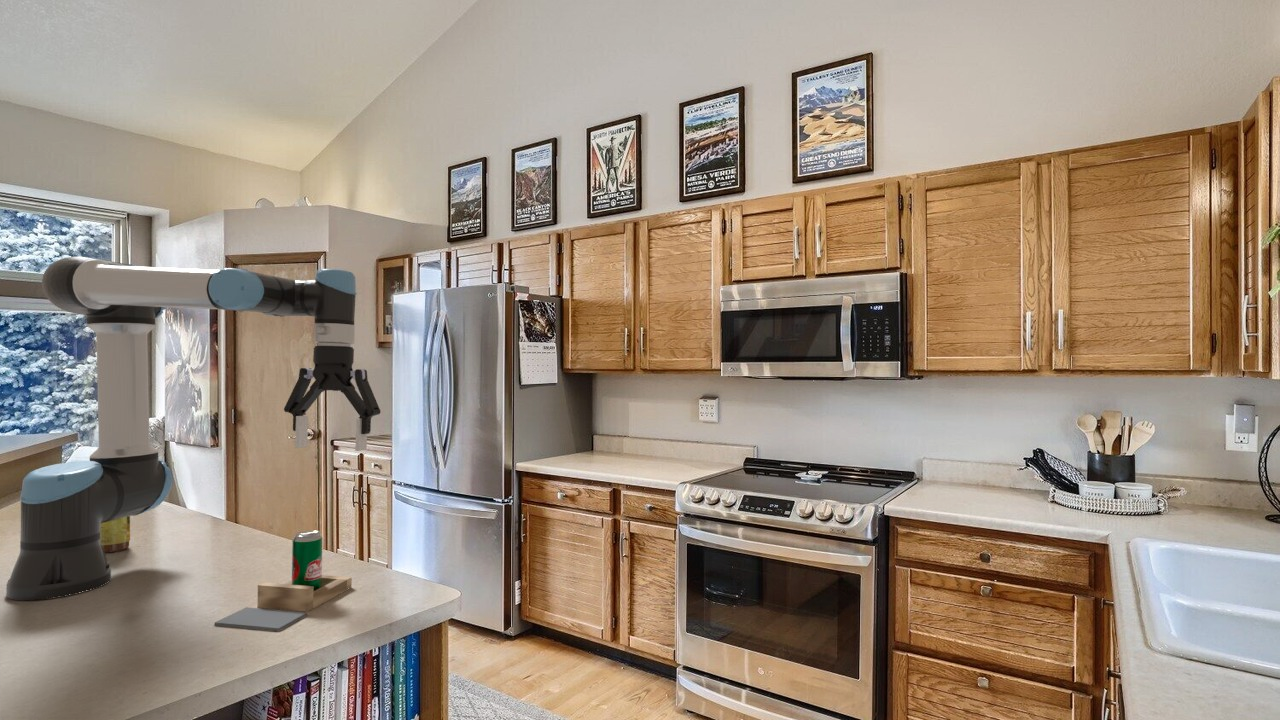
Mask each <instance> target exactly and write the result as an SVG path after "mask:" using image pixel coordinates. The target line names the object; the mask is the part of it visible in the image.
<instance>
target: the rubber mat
mask: <svg viewBox="0 0 1280 720" xmlns="http://www.w3.org/2000/svg"><path fill="white" fill-rule="evenodd" d="M307 616H308V612H304V611H292V610H281V609H269V608H257V607H248V606H246V607H243V608H242V609H239V610H238V611H236V612H233V613H231V614H229V615H227V616H225V617H222V618H221V619H219V620H217V621H215V622H214V626H217V627H228V628H229V627H230V628H240V629H248V630H249V629H250V630H260V631H268V632H269V631H273V632H280V631H281V630H284V629H286V628H288V627H290V626H291V625H293V624H295V623H296V622H298V621H300V620H301V619H304V618H305V617H307Z"/></svg>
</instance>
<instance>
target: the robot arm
mask: <svg viewBox="0 0 1280 720" xmlns="http://www.w3.org/2000/svg"><path fill="white" fill-rule="evenodd" d="M41 288H42V290H43V293H44V295H45V297H46V299H48V301H50V303H51V304H53V306H55V307H57V308H58V309H60V310H63V311H65V312H67V313H71V314H76V315H84V316H86V327H88V328H89V329H90V330H91V331H93V332H94V333H95V335H96V371H97V372H96V375H97V376H96V378H97V419H98V420H97V423H98V428H97V429H98V447H97V449H95V451H94V452H92V453H91V454H90V455H89V460H79V461H78V460H77V461H69V462H65V463H55V464H51V465H47V466H43V467H40V468H37V469H33V470H32V471H30V472H29V473H27V474H26V475H25V476H24V477H23V479H22V485H21V492H20V496H19V499H20V537H19V538H20V541H19V542H20V546H19V555H18V557H17V559H16V561H15V564H14V567H13V569H12V571H11V574H10V576H9V577H10V578H9V579H8V580H7V582H6V588H5V589H6V592H5V595H6V597H7V598H9V599H10V600H14V599H16V600H15V601H36V600H35V599H41V600H48V599H47V598H50V599H54V598H53V597H57V598H59V597H58V596H63V597H66V596H65V595H69V594H73V595H76V594H75V593H78V594H80V593H79V592H82V591H86V590H89V591H91V590H90V589H92V590H94V589H93V588H95V589H97V588H96V587H98V588H99V586H100V587H102V586H101V585H103V584H105V583H106V584H108V583H109V582H110V581H111V580H110V579H112V578H111V577H112V568H111V566H110V564H109V562H108V559H107V556H106V553H104V550H103V548H102V546H101V542H100V527H101V523H104V522H107V521H111V520H115V519H119V518H123V517H127V516H130V517H131V516H138V515H141V514H143V513H145V512H147V511H151V510H153V509H155V508H157V507H159V506H160V505H161V504H162V503H163V502H164V501H165V500H166V499H167V498H168V496H169V494H170V492H171V489H172V485H173V474H172V471H171V468H170V466H167V463H166V462H165V461H164V460H162V459H161V458H159V449H157V447H154V446H153V445H151V443H150V412H149V411H150V408H149V406H150V404H149V402H150V401H149V365H148V364H149V363H148V362H149V361H148V360H149V359H148V358H149V357H148V355H149V354H148V352H149V351H148V335H149V333H150V332H152V330H153V329H155V328H156V319H157V318H159V317H160V316H162V315H163V313H164V311H165V310H166V308H177V309H178V308H182V309H202V310H203V309H204V310H205V309H206V310H222V311H239V312H240V311H241V312H254V313H262V314H264V315H266V316H274V317H281V318H282V317H314V331H313V333H314V334H313V335H314V337H313V342H314V343H315V344H316V345H314V347H313V355H312V358H313V359H312V361H313V364H314V369H312V368H311V367H301V368H299V373H298V379H297V380H296V383H295V385H294V387H293V390H291V393H290V395H289V396H288V397H289V398H288V399H287V401H286V403H285V406H284V408H283V411H284V412H285V413H289V414H290V415H292V430H293V432H295V434H294V435H295V436H294V437H295V438H294V439H295V440H294V447H295V449H302V448H308V432H309V431H308V429H309V415H308V414H307V412H308V410H309V409H310V407H311V406H312V405H313V403H315V402H316V400H317V399H318V398H319V396H320V395H321V394H322V393H323V392H326V391H332V392H334V391H335V392H338V391H339V392H340V393H342V394H344V396H345V397H346V399H347V400H348V402H349V403H350V404H351V406H352V407H353V408H354V410H355V411H356V413H357V414H358V417H357V418H356V419H355V421H356V423H355V449H354V450H355V451H356V452H361V451H367V450H368V449H367V448H368V447H367V446H368V445H367V444H368V442H367V441H368V434H370V433H371V431H372V430H371V429H372V428H371V427H372V422H371V421H372V418H373V417H375V416H378V415H380V414H381V409H380V407H379V404H378V402H377V400H376V398H375V394H374V392H373V390H372V387H371V385H370V382H369V381H368V371H367V370H366V369H363V368H361V369H355V370H353V365H354V362H355V361H354V354H355V353H354V351H355V348H354V347H353V346H352V345H354V344H355V328H356V326H355V313H356V296H357V290H356V289H357V286H356V276H355V274H354V273H352V272H351V271H348V270H346V269H345V270H344V269H336V268H323V269H321V268H320V269H317V270H316V273H315V277H314V279H291V278H284V277H279V276H275V275H269V274H264V273H259V272H254V271H251V270H248V269H244V268H235V267H228V268H227V267H225V268H222V269H206V268H205V269H204V268H203V269H202V268H184V267H183V268H182V267H181V268H178V267H156V266H155V267H153V266H138V265H135V264H131V263H129V264H128V263H123V262H118V261H117V262H115V261H110V260H104V259H97V258H92V257H87V256H68V257H63V258H61V259H57V260H56V261H54V262H53V263H52V264H50V265H49V266H48V267H47V268H46V269H45V271H44V272H43V274H42V278H41ZM313 378H314V381H313V383H312V384H311V385H310V383H311V382H312V379H313ZM352 379H353V380H354V382H355V384H356V386H357V389H358V392H357V390H356V387H355V386H354V384H353V383H352ZM308 389H309V390H308ZM307 390H308V391H307ZM108 581H109V582H108ZM107 582H108V583H107ZM106 584H105V585H106ZM103 586H104V585H103ZM86 592H87V591H86ZM82 593H83V592H82ZM69 596H70V595H69Z"/></svg>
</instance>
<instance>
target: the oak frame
mask: <svg viewBox="0 0 1280 720" xmlns="http://www.w3.org/2000/svg"><path fill="white" fill-rule="evenodd" d="M352 579H353V578H352V577H351V576H340V575H325V574H322V587H321V588H319V589H317V590H315V591H313V589H314V586H302V585H292V580H289V581H287V582H285V583H274V582H262V583H260V584H258V585H257V602H256V603H257V607H256V608H260V609H272V610H283V611H295V612H306V613H308V612H309V611H311V610H314V609H315V608H317V607H319V606H321V605H323V604H324V603H326V602H328V601H330V600H331V598H332V599H333V598H335V597H337V596H339V595H340V593H341V594H342V593H344V592H346V591H348V590H349V589H348V588H350V589H352V585H353V584H352V581H353V580H352ZM347 589H348V590H347ZM345 590H346V591H345ZM343 591H344V592H343ZM338 594H339V595H338ZM322 603H323V604H322Z"/></svg>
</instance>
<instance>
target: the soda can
mask: <svg viewBox="0 0 1280 720" xmlns="http://www.w3.org/2000/svg"><path fill="white" fill-rule="evenodd" d="M323 540H324V539H323V536H322V535H321V531H320V530H304V531H299V532H297V533H295V534H294V538H293V539H292V548H291V550H292V551H291V554H292V555H291V581H292V585H302V586H314V589H313V591H315V590H317V589H319V588H321V587H322V575H323Z"/></svg>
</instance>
